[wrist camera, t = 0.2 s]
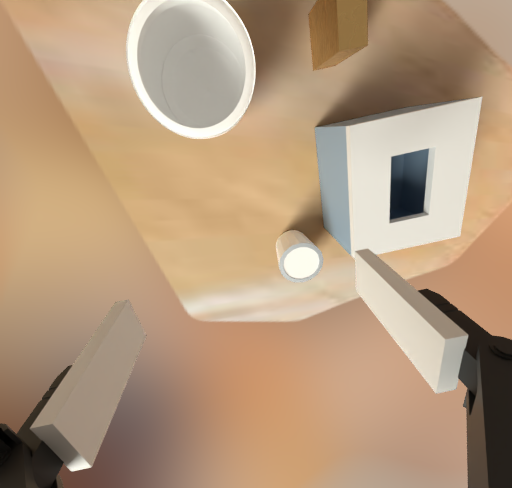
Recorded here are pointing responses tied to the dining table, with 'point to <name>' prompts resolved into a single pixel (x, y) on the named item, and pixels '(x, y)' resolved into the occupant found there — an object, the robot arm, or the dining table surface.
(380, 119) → the box
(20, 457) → the robot arm
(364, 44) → the wooden rectangular block
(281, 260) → the white cylinder
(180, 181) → the dining table surface
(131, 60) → the jar
